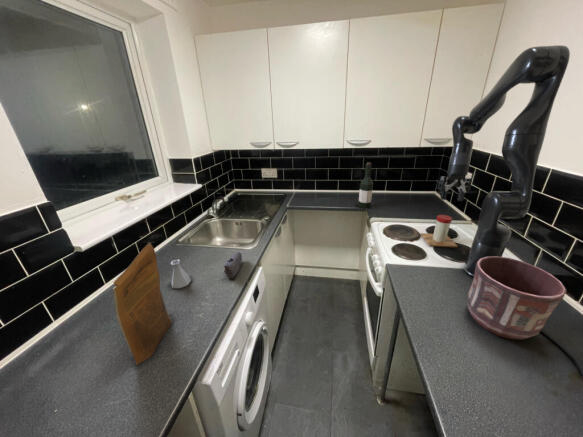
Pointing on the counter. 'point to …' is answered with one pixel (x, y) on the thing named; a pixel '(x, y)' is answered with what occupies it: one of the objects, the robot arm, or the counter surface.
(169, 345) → the counter surface
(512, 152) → the robot arm
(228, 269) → the perforated stone tool
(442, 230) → the jam jar
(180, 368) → the counter surface
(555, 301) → the pottery
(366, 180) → the wine bottle
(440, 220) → the jam lid
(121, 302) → the pancake mix bag
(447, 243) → the wooden trivet
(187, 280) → the flask
